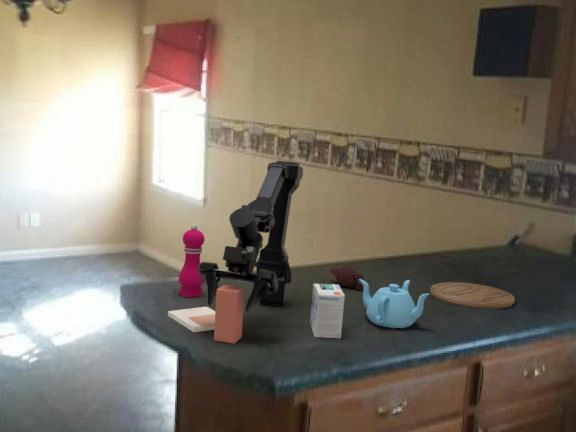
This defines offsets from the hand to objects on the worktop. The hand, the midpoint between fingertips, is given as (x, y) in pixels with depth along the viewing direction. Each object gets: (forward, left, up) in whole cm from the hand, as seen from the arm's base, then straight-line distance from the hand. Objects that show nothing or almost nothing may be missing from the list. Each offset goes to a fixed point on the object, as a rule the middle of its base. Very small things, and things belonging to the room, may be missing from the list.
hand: (227, 307), depth 167 cm
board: (+8, -13, -8) cm, 17 cm away
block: (0, -1, -8) cm, 8 cm away
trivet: (-69, -55, -8) cm, 89 cm away
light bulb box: (-23, -12, -8) cm, 28 cm away
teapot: (-41, -24, -8) cm, 49 cm away
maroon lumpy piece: (-31, -58, -8) cm, 66 cm away
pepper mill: (+14, -36, -8) cm, 40 cm away
